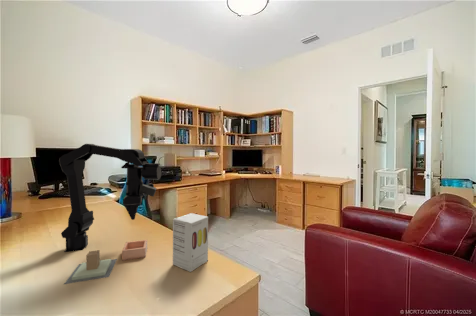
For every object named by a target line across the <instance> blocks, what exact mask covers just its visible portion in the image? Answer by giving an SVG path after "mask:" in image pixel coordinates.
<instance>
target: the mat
mask: <svg viewBox="0 0 476 316" xmlns="http://www.w3.org/2000/svg"><path fill="white" fill-rule="evenodd" d="M111 259H112V258H111ZM117 260H118V258H113V259H112V262H111V264H110V266H109V268H108V270H107V272H106V274H105V275H102V276H96V277H90V278H84V279H77V280H72V276H73V275H74V274H75V272H76V271H77V270H78V268H79V267H80V266H81V264H82V263H79V264H78V265H77V267H75V269H74V270H73V271H72V273H71V274H70V276H69V277H68V278H67V279H66V281H65V282H64V284H63V285H68V284H69V285H70V284H73V283H81V282H86V281H93V280H99V279H100V280H101V279H104V278H105V279H106V278H110V276H111V273H112V272H113V270H114V267H115V264H116V262H117Z"/></svg>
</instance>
